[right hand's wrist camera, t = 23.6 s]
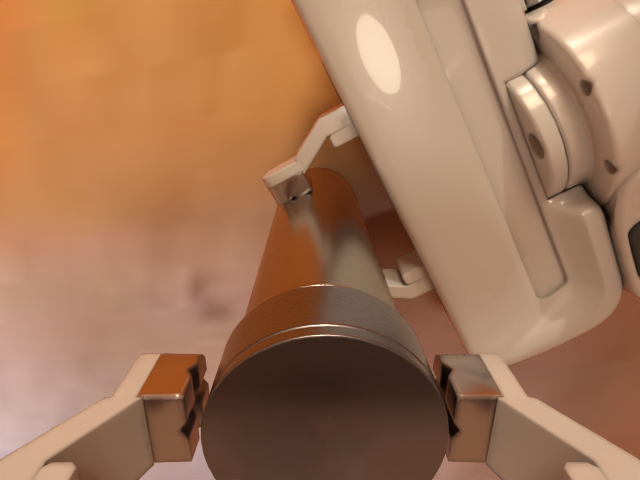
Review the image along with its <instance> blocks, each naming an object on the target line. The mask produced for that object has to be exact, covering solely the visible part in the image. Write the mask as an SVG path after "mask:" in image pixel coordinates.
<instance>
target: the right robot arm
mask: <svg viewBox="0 0 640 480" xmlns="http://www.w3.org/2000/svg"><path fill="white" fill-rule="evenodd" d="M206 370H207V367H206V360H205V357H204V355H203V354H161V353H144V354H141V355H139V356H138V358H137V359H136V361H135V362H134V364H133V366H132V367H131V369H130V370H129V372H128V373H127V375H126V376H125V378H124V379H123V381H122V382H121V384H120V385H119V387H118V388H117V390H116V391H115V393H114V394H113V396H112V397H105V398H103V399H102V400H100V401H98V402H97V403H95V404H93V405H91V406H90V407H88V408H86V409H85V410H83V411H81V412H80V413H78V414H76V415H75V416H73V417H71V418H69V419H68V420H66V421H64V422H63V423H61V424H59V425H58V426H56V427H54V428H52V429H51V430H49V431H47V432H46V433H44V434H42V435H41V436H39V437H37V438H35V439H34V440H32V441H30V442H29V443H27V444H25V445H24V446H22V447H20V448H18V449H17V450H15V451H13V452H12V453H10V454H8V455H7V456H5V457H3V458H1V459H0V480H139V479H140V478H141V477H142V476H143V475H144V474H145V473H146V472H147V471H148V470H149V469H150V468H151V467H152V466H153V465H154V462H186V461H192V459H193V456H194V453H195V450H196V447H197V444H198V441H199V429H198V428H199V427H201V423H202V417H203V413H204V410H205V407H206V403H207V400H208V397H209V384H208V383H207V382H206V381H205V380H204V375H205V372H206ZM433 370H434V372H435V375H436V379H435V381H436V384H437V386H438V389H439V391H440V394H441V396H442V399H443V401H444V404H445V407H446V411H447V415H448V424H449V435H448V444H447V448H446V452H445V453H446V456H447V459H448V461H453V462H486V465H487V466H488V467H489V468H490V469H491V470H492V471H493V472H494V473H495V474H496V475H497V476H498V477H499V478H500V479H501V480H640V459H638V458H636V457H635V456H633V455H631V454H630V453H628V452H626V451H625V450H623V449H621V448H619V447H618V446H616V445H614V444H613V443H611V442H609V441H608V440H606V439H604V438H603V437H601V436H599V435H597V434H596V433H594V432H592V431H591V430H589V429H587V428H586V427H584V426H582V425H581V424H579V423H577V422H575V421H574V420H572V419H570V418H569V417H567V416H565V415H564V414H562V413H560V412H559V411H557V410H555V409H553V408H552V407H550V406H548V405H547V404H545V403H543V402H542V401H540V400H538V399H537V398H535V397H528V396H527V395H526V393H525V392H524V390H523V389H522V387H521V386H520V384H519V383H518V381H517V380H516V378H515V376H514V375H513V373H512V372H511V370H510V369H509V367H508V366H507V364H506V363H505V361H504V360H503V358H502V357H501V355H499V354H497V353H486V354H463V355H436V356H435V359H434V366H433Z"/></svg>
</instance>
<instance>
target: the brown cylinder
mask: <svg viewBox="0 0 640 480" xmlns="http://www.w3.org/2000/svg"><path fill="white" fill-rule="evenodd" d="M307 172H308V174H309V176H310V177H311V179H312V181H313V182H312V190H311V191H309V192H308V193H306V194H304V195H301V196H299V197H295V196H293V197H292V199H291V201H290V202H288V203H287V204H285V205H282V206H277V209H276V213H275V216H274V220H273V223H272V226H271V230H270V233H269V236H268V240H267V243H266V247H265V250H264V253H263V257H262V260H261V263H260V267H259V270H258V274H257V277H256V280H255V284H254V287H253V290H252V294H251V297H250V301H249V304H248V307H247V311H246V314H245V316H246V315H247V314H248V313H249V312H250V311H252V310H253V309H254V308H256V307H257V306H258V305H260V304H261V303H263V302H265V301H266V300H268V299H270V298H272V297H274V296H276V295H278V294H281V293H283V292H286V291H290V290H293V289H296V288H302V287H307V286H319V285H330V286H341V287H346V288H352V289H355V290H359V291H362V292H365V293H368V294H370V295H372V296H374V297H376V298H378V299H380V300H382V301H383V302H385V303H387V304H388V305H390V306H391V307H392V308H394V309H395V310H396V311H397V309H396V306H395V303H394V300H393V298H392V295H391V292H390V290H389V287H388V284H387V281H386V279H385V276H384V273H383V270H382V268H381V265H380V262H379V260H378V257H377V254H376V251H375V249H374V246H373V243H372V240H371V238H370V235H369V232H368V230H367V227H366V224H365V221H364V219H363V216H362V213H361V210H360V208H359V205H358V202H357V200H356V197H355V194H354V192H353V189H352V187H351V186H350V184H349V183H348V181H347V180H346V179H345V178H344V177H343V176H341V175H340V174H338V173H337V172H335V171H332V170H330V169H326V168H310V169H307ZM397 312H398V311H397Z"/></svg>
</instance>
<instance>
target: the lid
mask: <svg viewBox="0 0 640 480" xmlns="http://www.w3.org/2000/svg"><path fill="white" fill-rule="evenodd" d="M448 435H449V424H448V415H447V411H446V407H445V404H444V401H443V399H442V396H441V394H440V391H439V389H438V386H437V384H436V381H435V379H434V376H433V374H432V372H431V369H430V367H429V364H428V362H427V359H426V357H425V354H424V352H423V349H422V347H421V345H420V342H419V340H418V338H417V336H416V334H415V332H414V331H413V329H412V328H411V326H410V325H409V323H408V322H407V321H406V320H405V319H404V318H403V317H402V315H401V314H399V313H398V312H397V311H396V310H395V309H394V308H392V307H391V306H390V305H388V304H387V303H385V302H383V301H382V300H380V299H378V298H376V297H374V296H372V295H370V294H368V293H365V292H362V291H359V290H355V289H352V288H346V287H341V286H330V285H319V286H307V287H302V288H296V289H293V290H290V291H286V292H283V293H281V294H278V295H276V296H274V297H272V298H270V299H268V300H266V301H265V302H263V303H261V304H260V305H258V306H257V307H256V308H254V309H253V310H252V311H250V312H249V313H248V314H247V315H246V316H245V317H244V318H243V319H242V320H241V321H240V322H239V324H238V325H237V327H236V328H235V329H234V331H233V332H232V334H231V336H230V338H229V340H228V342H227V344H226V347H225V350H224V353H223V356H222V359H221V362H220V365H219V368H218V371H217V374H216V377H215V380H214V383H213V386H212V389H211V392H210V394H209V397H208V400H207V403H206V407H205V410H204V413H203V417H202V423H201V443H202V448H203V453H204V456H205V459H206V462H207V465H208V467H209V469H210V471H211V472H212V474H213V476H214V478H215V479H216V480H432V479H433V477H434V476H435V474H436V472H437V471H438V469H439V467H440V465H441V463H442V460H443V458H444V456H445V452H446V448H447V444H448Z"/></svg>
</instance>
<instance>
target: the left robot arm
mask: <svg viewBox="0 0 640 480" xmlns="http://www.w3.org/2000/svg"><path fill="white" fill-rule="evenodd" d="M291 2H292V4H293V6H294V8H295V10H296V12H297V14H298V16H299V18H300V20H301V22H302V24H303V26H304V28H305V30H306V32H307V34H308V36H309V38H310V40H311V42H312V44H313V46H314V48H315V50H316V52H317V54H318V56H319V58H320V60H321V62H322V64H323V66H324V68H325V70H326V72H327V74H328V76H329V78H330V80H331V82H332V84H333V86H334V88H335V90H336V92H337V94H338V96H339V98H340V100H341V102H342V103H340V104H338V105H336V106H335V107H333V108H331V109H329V110H328V111H326V112H324V113H322V114H321V115H319V116H318V118H317V119H316V121H315V123H314V124H313V126H312V128H311V130H310V131H309V133H308V135H307V136H306V138H305V140H304V141H303V143H302V145H301V146H300V148H299V150H298V151H297V154H296V156H295V157H293V158H291V159H289V160H287V161H285V162H284V163H282V164H280V165H278V166H276V167H275V168H273V169H271V170H270V171H268V172H267V173H266V174H265V175H264V176H263V178H262V179H263V181H264V183H265V185H266V187H267V188H268V190H269V191H270V193H271V194H272V196H273V198H274V199H275V201H276V202H277V204H278V206H282V205H285V204H287V203H288V202H290V201H291V199H292V197H293V196H295V197H299V196H301V195H304V194H306V193H308V192H309V191H311V190H312V182H313V181H312V179H311V177H310V176H309V174H308V172H307V169H308V167H309V166H310V164H311V162H312V161H313V159H314V157H315V156H316V154H317V153H318V151H319V149H320V148H321V146H322V145H323V143H324V141H325V140H326V138H327V136H329V137H330V140H331V142H332V144H333V146H335V147H338V146H340V145H342V144H344V143H346V142H348V141H350V140H352V139H354V138H355V137H357V136H359V138H360V140H361V143H362V145H363V147H364V149H365V151H366V153H367V155H368V157H369V159H370V161H371V163H372V165H373V167H374V169H375V171H376V173H377V175H378V177H379V179H380V181H381V183H382V185H383V187H384V189H385V191H386V193H387V195H388V197H389V199H390V201H391V203H392V205H393V207H394V209H395V211H396V213H397V215H398V217H399V219H400V221H401V223H402V225H403V227H404V229H405V231H406V233H407V235H408V237H409V239H410V241H411V243H412V245H413V247H414V249H413V250H411V251H409V252H407V253H405V254H403V255H401V256H399V257H397V258H396V260H395V261H396V263H397V266H398V268H386V269H382V270H383V273H384V276H385V279H386V281H387V284H388V287H389V290H390V292H391V295H392V298H403V299H414V298H416V297H418V296H421V295H423V294H425V293H427V292H429V291H432V290H434V289H435V291H436V293H437V295H438V297H439V299H440V301H441V303H442V305H443V307H444V309H445V311H446V313H447V315H448V317H449V319H450V321H451V323H452V325H453V327H454V329H455V331H456V333H457V335H458V337H459V339H460V341H461V343H462V345H463V347H464V349H465V351H466V352H467V354H486V353H497V354H499V355H501V357H502V358H503V360H504V361H505V363H506V364H507V366H510V365H514V364H516V363H519V362H522V361H524V360H527V359H529V358H532V357H534V356H537V355H539V354H541V353H543V352H546V351H548V350H550V349H553V348H555V347H557V346H559V345H561V344H563V343H565V342H567V341H569V340H572V339H574V338H576V337H578V336H580V335H582V334H584V333H585V332H587V331H589V330H591V329H593V328H594V327H596V326H597V325H599V324H600V323H602V322H603V321H604V320H605V319H607V318H608V317H609V316H610V315H611V314H612V313H613V312H614V310H615V309H616V307H617V306H618V304H619V302H620V299H621V296H622V290H623V289H624V290H626V291H627V292H629V293H631V294H633V295H635V296H636V297H638V298H640V0H291ZM524 11H525V14H524Z"/></svg>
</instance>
